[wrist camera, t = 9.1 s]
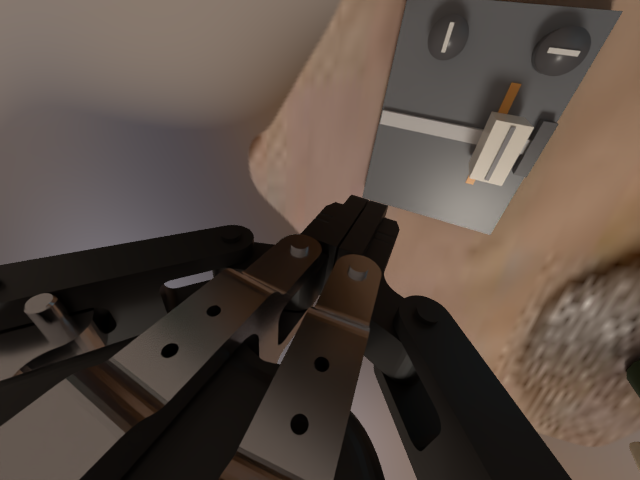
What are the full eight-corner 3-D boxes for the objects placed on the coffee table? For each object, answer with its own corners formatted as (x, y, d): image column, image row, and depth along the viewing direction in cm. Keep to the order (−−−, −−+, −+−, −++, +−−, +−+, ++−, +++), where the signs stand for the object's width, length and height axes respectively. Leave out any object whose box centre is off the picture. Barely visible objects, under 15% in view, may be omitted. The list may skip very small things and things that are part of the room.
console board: (412, -3, 23) (403, -12, 20) (610, 14, 19) (639, 6, 16) (366, 190, 34) (356, 205, 30) (488, 225, 30) (491, 246, 27)
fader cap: (491, 111, 22) (496, 120, 19) (524, 117, 22) (534, 127, 19) (468, 163, 25) (469, 178, 22) (496, 169, 24) (501, 186, 21)
